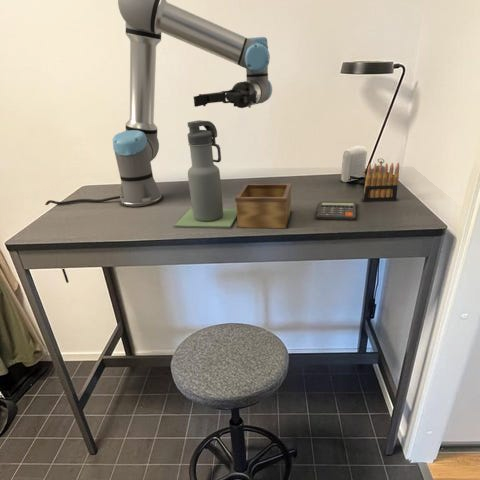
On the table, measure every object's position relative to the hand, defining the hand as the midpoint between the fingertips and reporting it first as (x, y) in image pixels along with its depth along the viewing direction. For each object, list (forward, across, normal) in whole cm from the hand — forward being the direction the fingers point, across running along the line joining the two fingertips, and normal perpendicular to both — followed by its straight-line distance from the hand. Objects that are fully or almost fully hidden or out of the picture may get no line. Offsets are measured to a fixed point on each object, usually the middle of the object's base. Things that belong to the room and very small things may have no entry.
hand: (214, 101), depth 118 cm
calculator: (-9, -37, -32) cm, 50 cm away
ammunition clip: (-24, -48, -32) cm, 62 cm away
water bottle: (+10, 0, -32) cm, 34 cm away
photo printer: (-47, -33, -32) cm, 66 cm away
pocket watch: (-42, -45, -32) cm, 69 cm away
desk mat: (+10, 0, -33) cm, 34 cm away
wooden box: (+5, -18, -32) cm, 38 cm away
